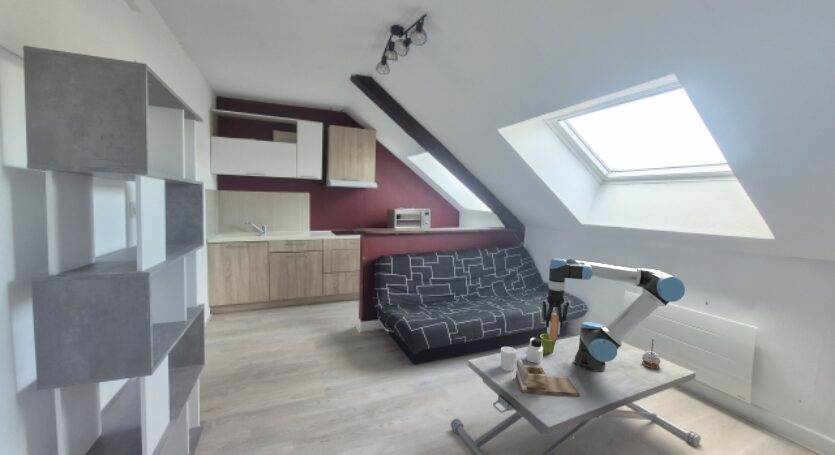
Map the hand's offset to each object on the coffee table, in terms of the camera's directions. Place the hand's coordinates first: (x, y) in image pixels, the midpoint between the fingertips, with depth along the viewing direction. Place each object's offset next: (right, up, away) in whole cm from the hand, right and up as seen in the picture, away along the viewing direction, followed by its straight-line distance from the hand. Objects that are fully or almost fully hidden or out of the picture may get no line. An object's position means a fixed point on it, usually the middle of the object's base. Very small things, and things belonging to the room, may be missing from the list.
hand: (553, 333), depth 175 cm
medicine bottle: (-5, -19, +14) cm, 25 cm away
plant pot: (+7, -19, +25) cm, 32 cm away
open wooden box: (-14, -20, -12) cm, 27 cm away
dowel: (0, -3, 0) cm, 3 cm away
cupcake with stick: (+58, -22, +12) cm, 63 cm away
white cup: (-22, -20, +4) cm, 30 cm away
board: (-8, -22, -13) cm, 26 cm away
